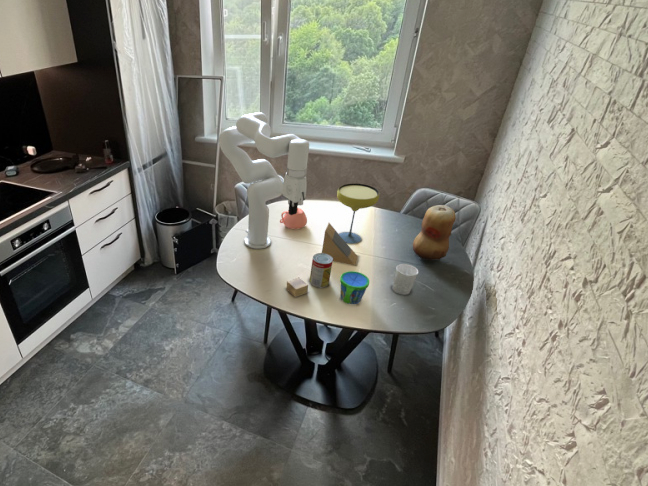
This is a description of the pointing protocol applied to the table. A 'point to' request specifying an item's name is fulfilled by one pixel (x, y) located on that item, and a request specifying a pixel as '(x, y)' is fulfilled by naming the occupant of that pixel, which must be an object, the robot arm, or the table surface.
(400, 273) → the white cup
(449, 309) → the table surface
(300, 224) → the sugar bowl
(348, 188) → the cocktail glass
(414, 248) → the butternut squash
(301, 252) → the table surface
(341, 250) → the sandwich container
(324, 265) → the canned food
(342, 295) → the snack cup
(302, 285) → the block
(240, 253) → the table surface
